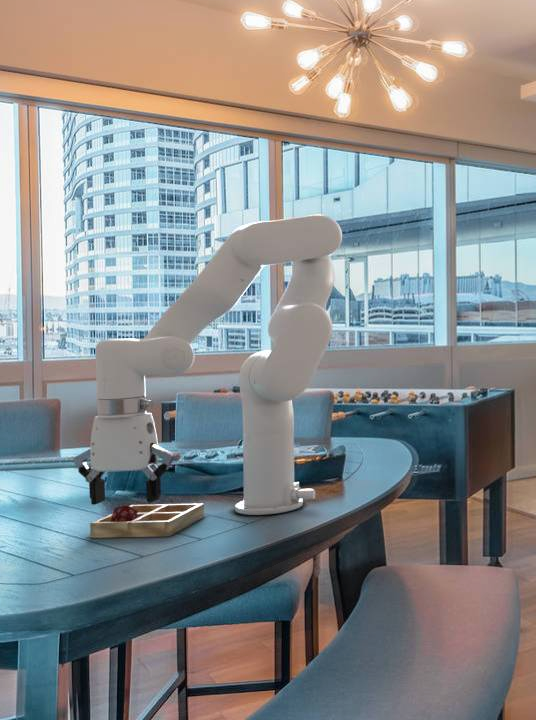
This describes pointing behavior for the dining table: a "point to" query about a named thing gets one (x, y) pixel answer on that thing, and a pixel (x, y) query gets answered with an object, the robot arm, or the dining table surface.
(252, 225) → the robot arm
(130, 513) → the dice
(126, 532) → the wooden compartment tray
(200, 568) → the dining table surface
